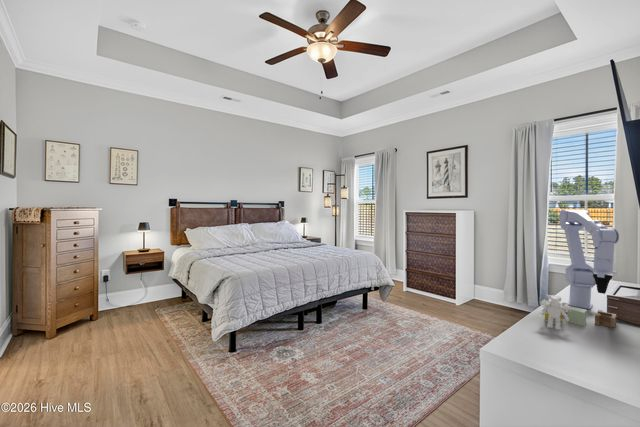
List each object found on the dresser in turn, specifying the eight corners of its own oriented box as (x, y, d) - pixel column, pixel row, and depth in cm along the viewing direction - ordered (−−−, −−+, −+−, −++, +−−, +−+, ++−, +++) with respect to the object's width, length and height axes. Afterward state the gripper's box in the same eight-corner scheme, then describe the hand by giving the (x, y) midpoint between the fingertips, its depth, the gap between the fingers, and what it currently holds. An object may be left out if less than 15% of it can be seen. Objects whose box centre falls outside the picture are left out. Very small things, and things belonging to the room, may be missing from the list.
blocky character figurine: (537, 325, 114) (539, 292, 114) (540, 322, 117) (542, 291, 116) (568, 333, 107) (570, 299, 107) (570, 330, 110) (572, 296, 110)
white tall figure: (556, 319, 120) (557, 294, 120) (565, 325, 115) (567, 299, 115) (541, 318, 121) (542, 294, 121) (550, 324, 116) (551, 298, 115)
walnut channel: (562, 310, 131) (562, 301, 131) (616, 322, 119) (616, 312, 119) (557, 316, 124) (558, 306, 124) (613, 329, 112) (614, 318, 112)
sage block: (569, 318, 122) (570, 306, 122) (586, 322, 118) (586, 309, 118) (567, 322, 118) (567, 309, 118) (584, 326, 115) (584, 312, 115)
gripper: (616, 262, 115) (613, 298, 116) (618, 258, 125) (616, 291, 126) (591, 259, 120) (589, 294, 121) (595, 256, 130) (593, 288, 131)
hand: (601, 292), depth 124 cm, fingers closed
